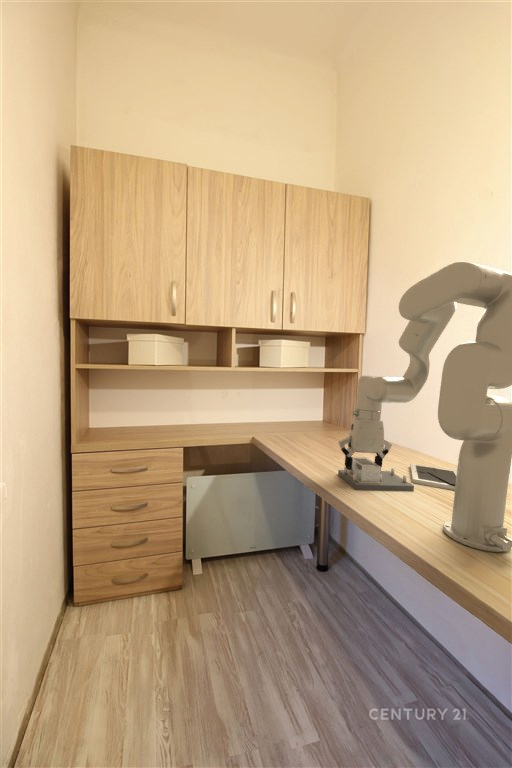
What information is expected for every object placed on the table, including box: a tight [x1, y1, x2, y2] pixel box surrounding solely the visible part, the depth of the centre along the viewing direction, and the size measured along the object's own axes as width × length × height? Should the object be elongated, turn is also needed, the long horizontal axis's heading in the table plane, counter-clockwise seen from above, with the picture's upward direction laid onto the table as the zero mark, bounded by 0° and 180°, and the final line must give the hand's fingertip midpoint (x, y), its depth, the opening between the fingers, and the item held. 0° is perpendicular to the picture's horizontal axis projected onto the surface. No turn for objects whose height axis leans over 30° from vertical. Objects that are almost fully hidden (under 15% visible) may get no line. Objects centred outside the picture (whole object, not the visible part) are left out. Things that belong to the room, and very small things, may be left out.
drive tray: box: [337, 466, 415, 492], centre depth 111 cm, size 14×18×4 cm
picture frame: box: [409, 463, 457, 491], centre depth 120 cm, size 16×3×21 cm
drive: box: [347, 456, 382, 483], centre depth 110 cm, size 10×6×5 cm, turn 9°
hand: (362, 469), depth 110 cm, fingers open, 9 cm apart
